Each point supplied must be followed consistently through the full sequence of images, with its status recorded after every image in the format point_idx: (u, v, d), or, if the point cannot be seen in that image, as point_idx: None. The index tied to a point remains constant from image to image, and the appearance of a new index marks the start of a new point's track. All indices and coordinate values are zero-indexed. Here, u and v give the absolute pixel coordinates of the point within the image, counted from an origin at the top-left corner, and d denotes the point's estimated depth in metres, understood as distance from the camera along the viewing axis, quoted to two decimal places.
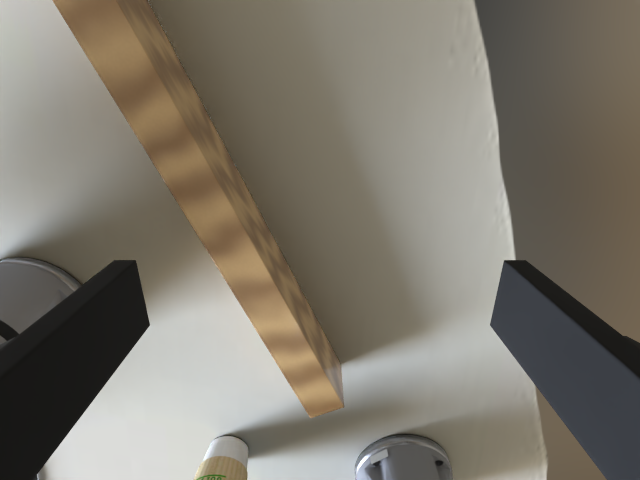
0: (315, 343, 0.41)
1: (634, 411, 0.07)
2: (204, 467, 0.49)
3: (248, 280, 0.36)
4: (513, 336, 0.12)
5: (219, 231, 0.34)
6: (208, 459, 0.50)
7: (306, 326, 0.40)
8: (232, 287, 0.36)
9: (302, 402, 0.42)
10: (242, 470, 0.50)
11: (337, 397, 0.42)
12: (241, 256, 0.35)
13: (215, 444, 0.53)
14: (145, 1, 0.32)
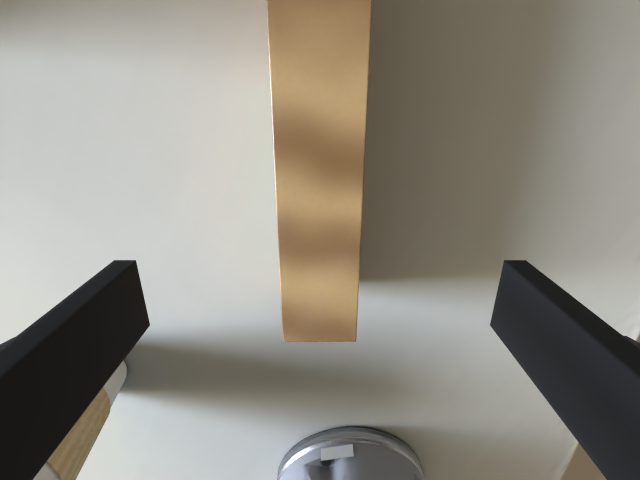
0: None
1: (634, 411, 0.07)
2: None
3: None
4: (513, 336, 0.12)
5: None
6: None
7: None
8: None
9: (284, 303, 0.20)
10: (102, 404, 0.27)
11: (354, 317, 0.21)
12: None
13: None
14: None
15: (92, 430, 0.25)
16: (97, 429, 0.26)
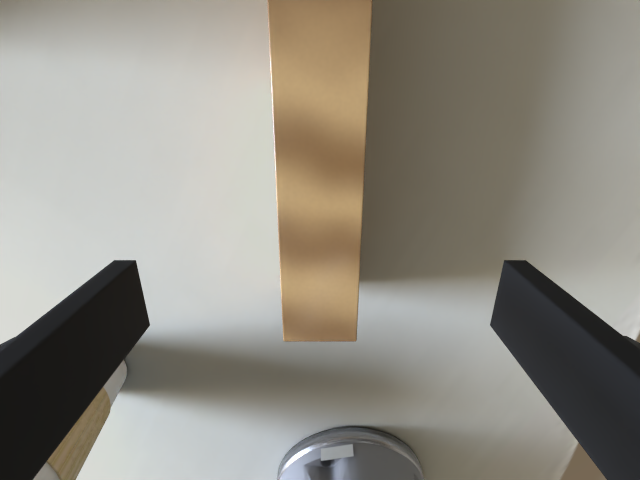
0: None
1: (634, 411, 0.07)
2: None
3: None
4: (513, 336, 0.12)
5: None
6: None
7: None
8: None
9: (285, 303, 0.20)
10: (102, 404, 0.27)
11: (355, 317, 0.21)
12: None
13: None
14: None
15: (92, 430, 0.25)
16: (97, 429, 0.26)
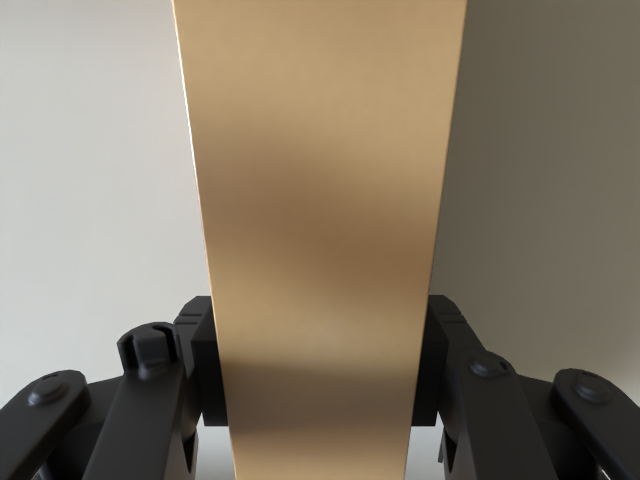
0: None
1: None
2: None
3: None
4: None
5: None
6: None
7: None
8: None
9: None
10: None
11: None
12: None
13: None
14: None
15: None
16: None
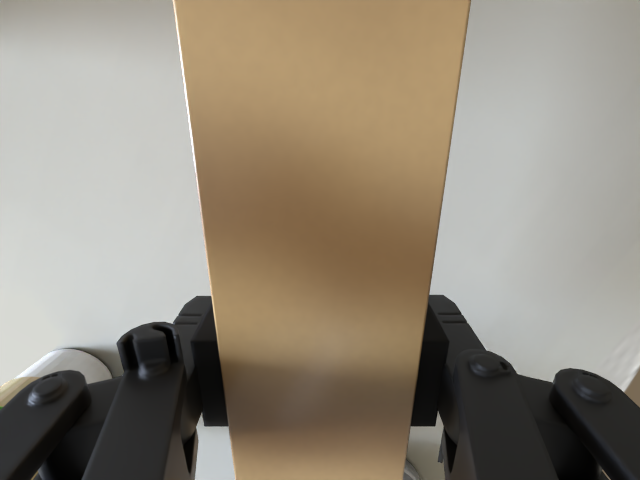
0: None
1: None
2: (7, 390, 0.24)
3: None
4: None
5: None
6: (24, 378, 0.25)
7: None
8: None
9: None
10: None
11: None
12: None
13: (53, 358, 0.28)
14: None
15: None
16: None
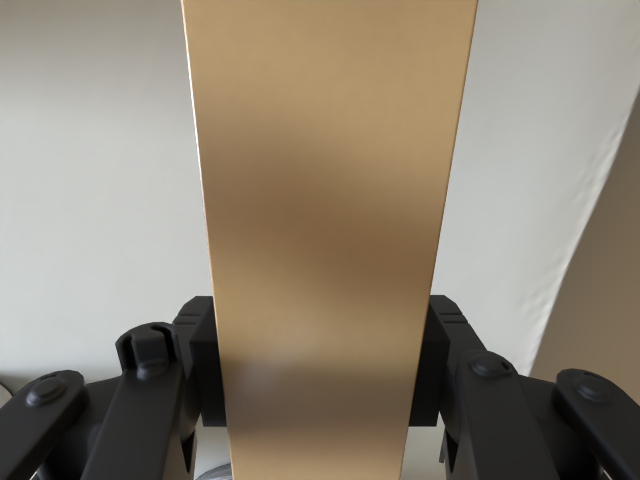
0: None
1: None
2: None
3: None
4: None
5: None
6: None
7: None
8: None
9: None
10: None
11: None
12: None
13: None
14: None
15: None
16: None
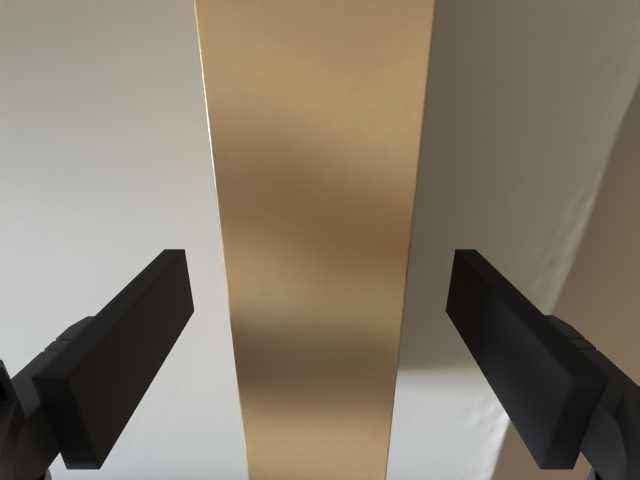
0: None
1: (540, 376, 0.08)
2: None
3: None
4: (461, 319, 0.12)
5: None
6: None
7: None
8: None
9: (253, 472, 0.11)
10: None
11: None
12: None
13: None
14: None
15: None
16: None
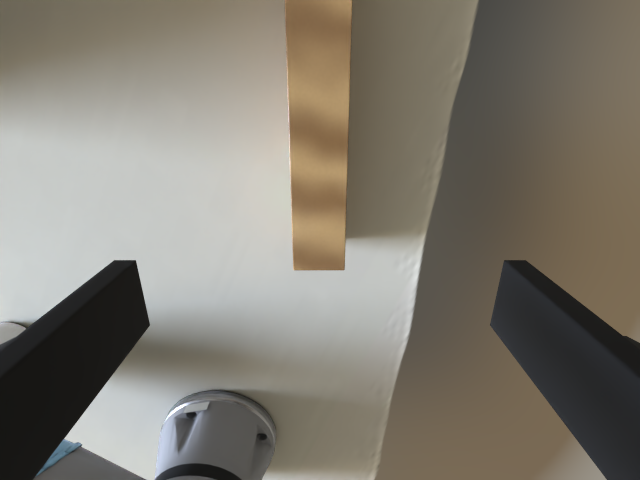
0: None
1: (634, 411, 0.07)
2: None
3: (316, 1, 0.23)
4: (513, 336, 0.12)
5: None
6: None
7: None
8: (288, 2, 0.23)
9: (294, 241, 0.30)
10: None
11: (343, 251, 0.30)
12: None
13: None
14: None
15: None
16: None
